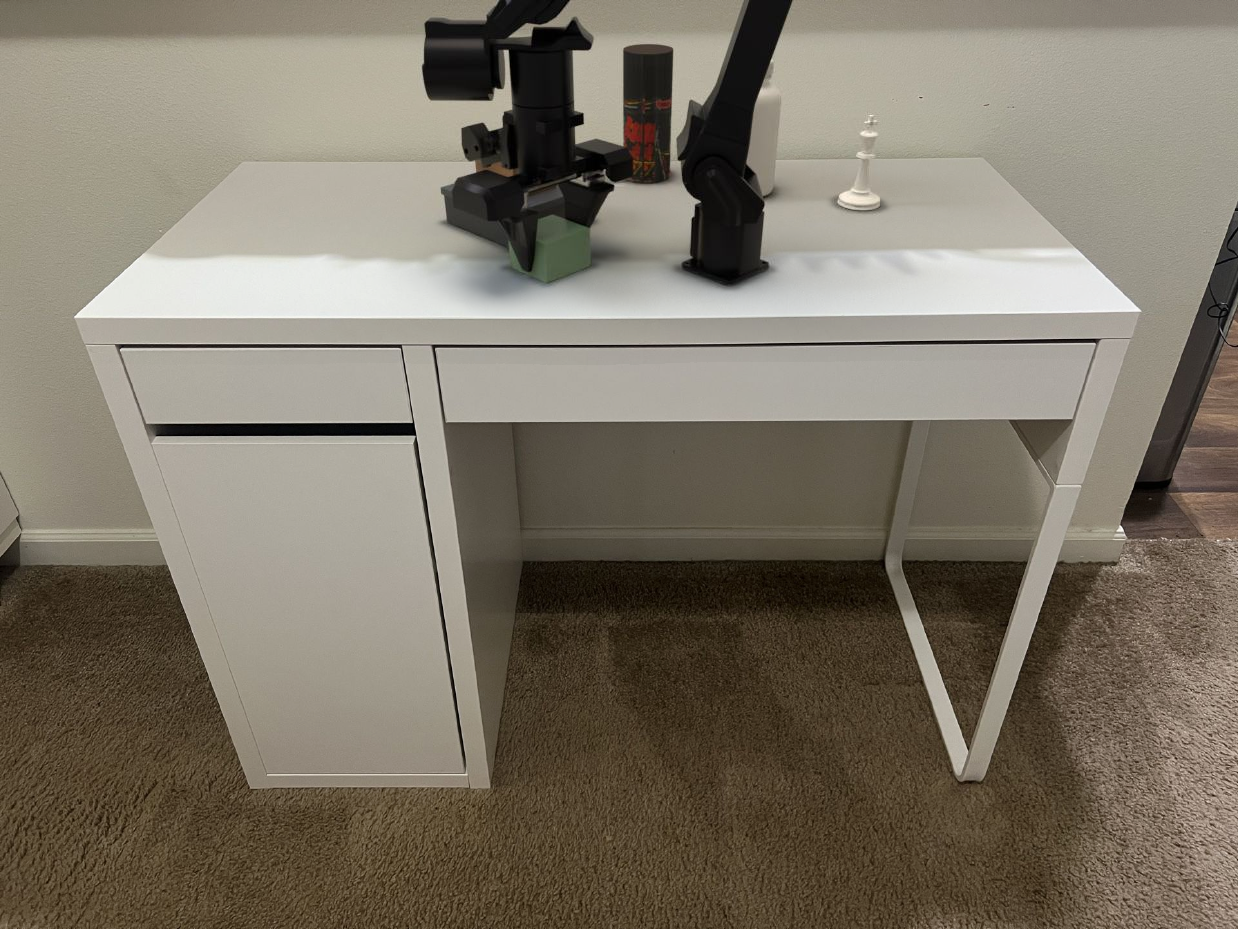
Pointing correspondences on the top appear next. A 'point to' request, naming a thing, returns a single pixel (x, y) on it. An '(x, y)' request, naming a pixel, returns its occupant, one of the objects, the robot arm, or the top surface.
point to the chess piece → (863, 174)
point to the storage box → (492, 230)
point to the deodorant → (648, 110)
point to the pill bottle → (765, 133)
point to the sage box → (557, 249)
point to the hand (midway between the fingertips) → (550, 262)
